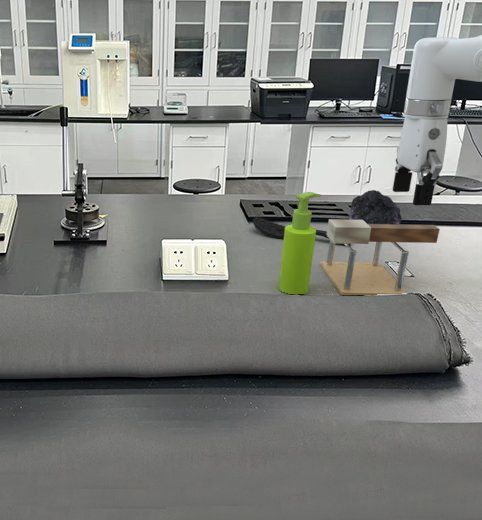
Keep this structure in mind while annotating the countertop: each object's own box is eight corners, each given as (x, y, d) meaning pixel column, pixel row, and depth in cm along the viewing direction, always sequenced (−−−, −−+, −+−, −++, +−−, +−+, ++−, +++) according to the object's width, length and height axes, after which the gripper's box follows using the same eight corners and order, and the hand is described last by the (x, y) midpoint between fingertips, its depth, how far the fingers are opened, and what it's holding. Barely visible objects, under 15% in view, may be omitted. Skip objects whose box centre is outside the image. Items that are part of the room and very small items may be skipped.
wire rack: (378, 265, 120) (385, 227, 116) (407, 297, 105) (417, 254, 102) (320, 264, 121) (325, 226, 117) (341, 296, 106) (348, 253, 102)
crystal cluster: (394, 240, 137) (406, 202, 133) (340, 226, 143) (350, 190, 139) (400, 229, 148) (411, 194, 144) (350, 217, 154) (359, 183, 150)
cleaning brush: (428, 236, 111) (431, 220, 110) (439, 245, 106) (443, 228, 105) (326, 235, 112) (328, 219, 111) (333, 243, 107) (335, 227, 106)
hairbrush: (350, 239, 127) (249, 219, 138) (347, 253, 129) (247, 232, 139) (355, 229, 134) (258, 210, 144) (352, 243, 135) (256, 223, 146)
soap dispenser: (317, 289, 109) (330, 194, 101) (295, 298, 105) (307, 200, 97) (294, 279, 113) (305, 188, 105) (272, 287, 109) (282, 193, 102)
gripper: (471, 114, 91) (451, 210, 97) (426, 103, 107) (411, 187, 113) (426, 115, 91) (409, 210, 98) (388, 104, 107) (375, 187, 114)
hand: (410, 197), depth 105 cm, fingers open, 9 cm apart
